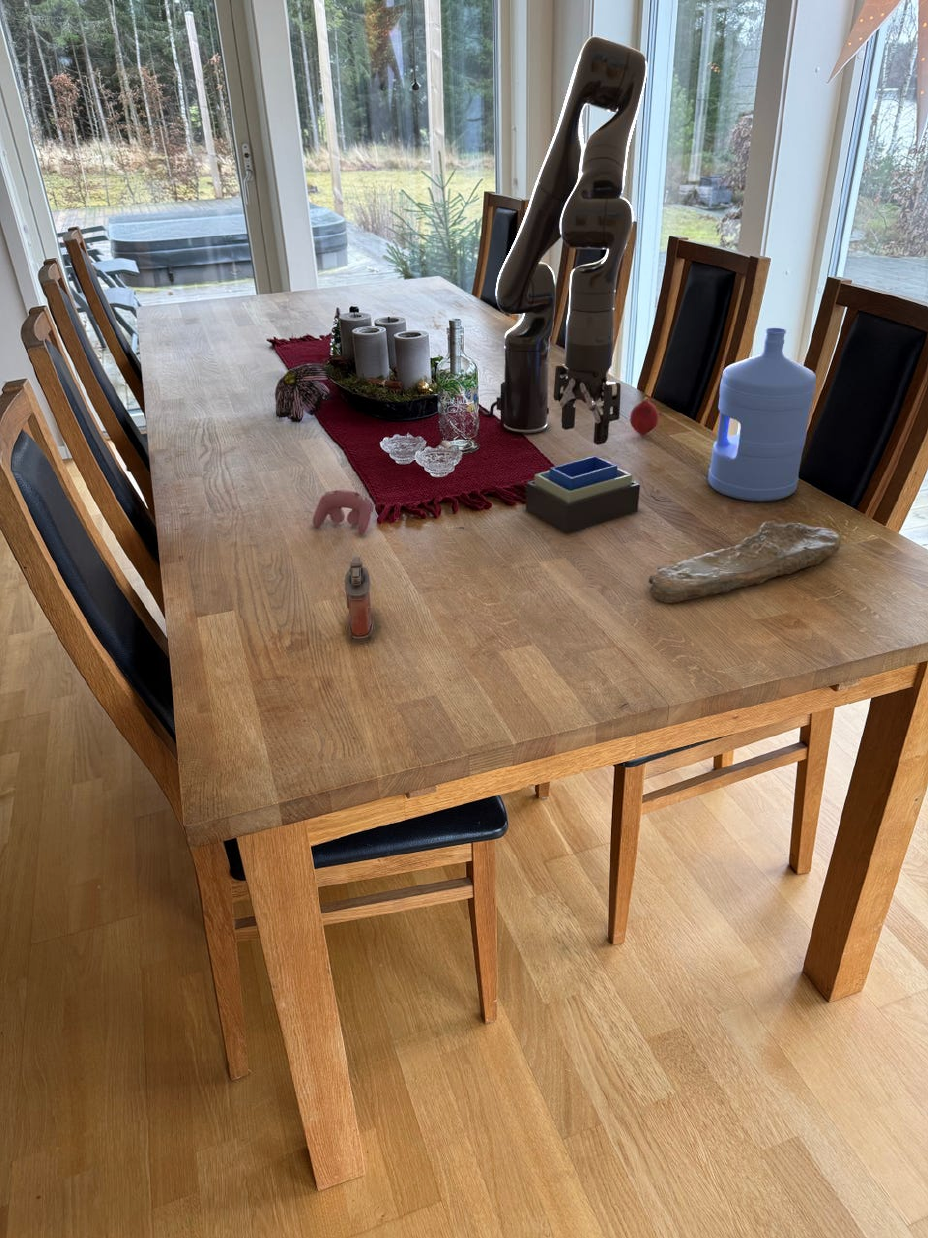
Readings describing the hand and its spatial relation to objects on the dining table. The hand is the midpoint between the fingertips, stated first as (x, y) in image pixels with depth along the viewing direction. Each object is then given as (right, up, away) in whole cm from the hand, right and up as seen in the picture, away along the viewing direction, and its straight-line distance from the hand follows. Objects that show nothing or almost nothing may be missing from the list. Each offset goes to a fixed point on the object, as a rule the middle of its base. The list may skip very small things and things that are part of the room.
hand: (583, 435), depth 149 cm
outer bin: (+1, -12, +7) cm, 14 cm away
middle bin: (+1, -12, +7) cm, 14 cm away
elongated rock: (+23, -24, -13) cm, 35 cm away
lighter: (-34, -32, -24) cm, 53 cm away
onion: (+18, +8, +39) cm, 43 cm away
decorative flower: (-57, +17, +55) cm, 81 cm away
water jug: (+33, -6, +15) cm, 37 cm away
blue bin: (0, -11, +6) cm, 13 cm away
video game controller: (-40, -15, +4) cm, 43 cm away
